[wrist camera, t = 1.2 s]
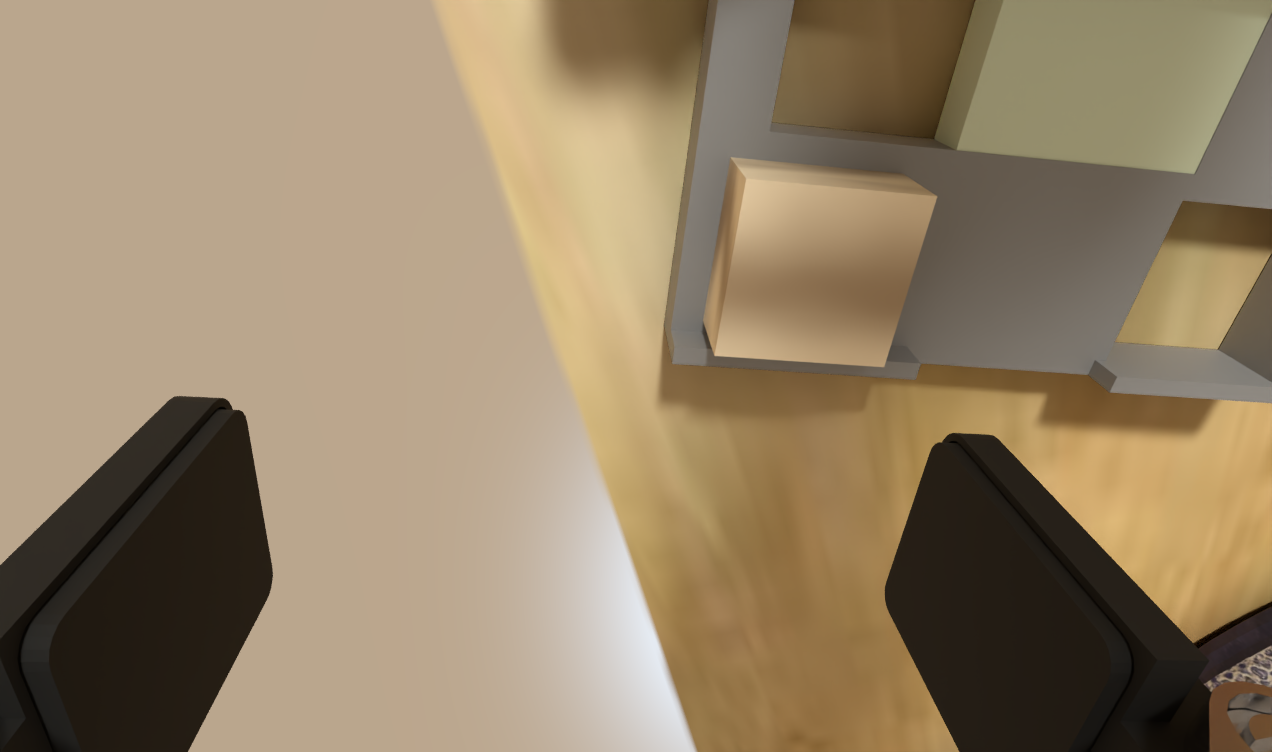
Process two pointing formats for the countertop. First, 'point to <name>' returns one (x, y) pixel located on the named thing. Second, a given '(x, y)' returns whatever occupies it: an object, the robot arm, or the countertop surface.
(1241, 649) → the dish
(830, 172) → the beech block
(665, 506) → the countertop surface
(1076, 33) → the board
